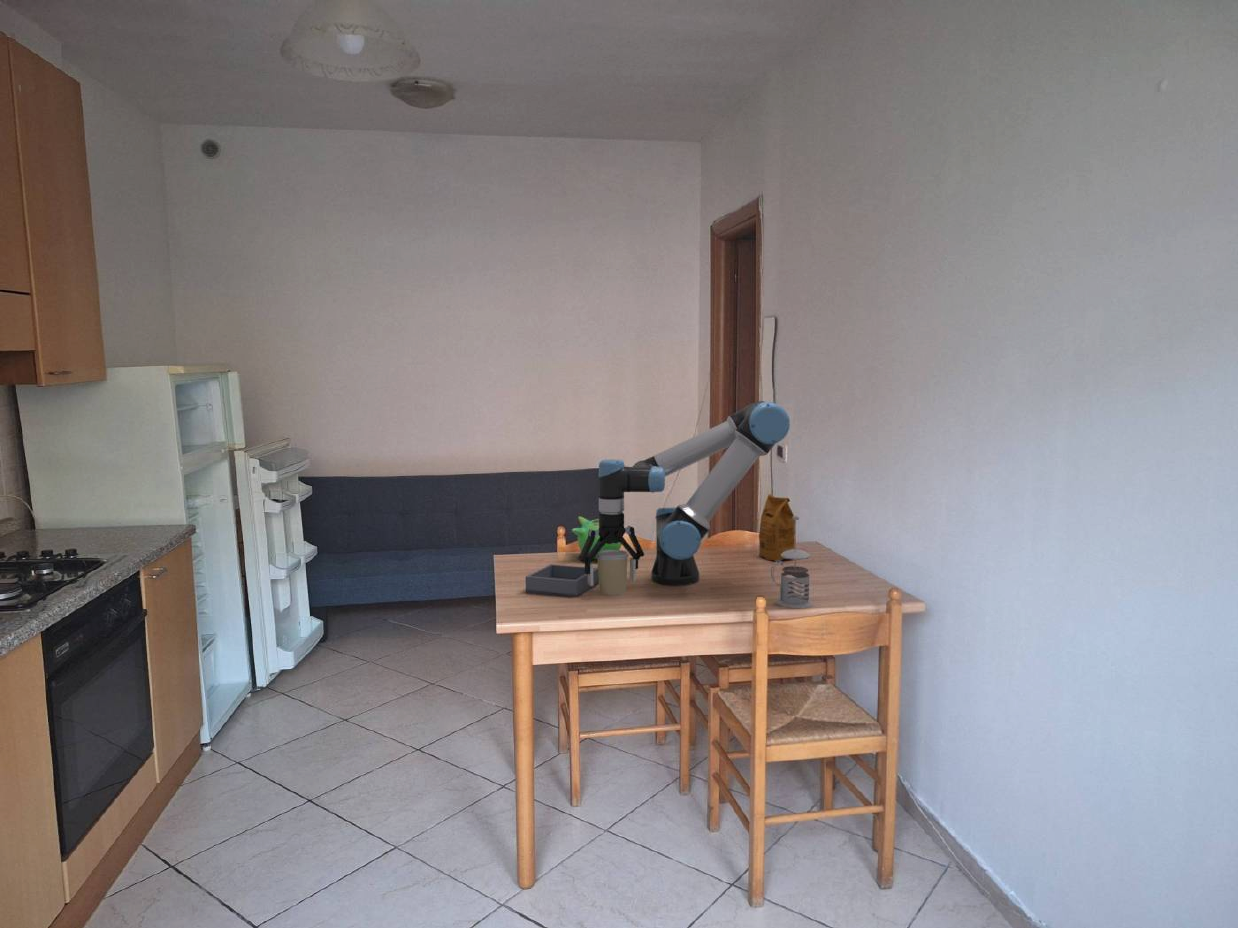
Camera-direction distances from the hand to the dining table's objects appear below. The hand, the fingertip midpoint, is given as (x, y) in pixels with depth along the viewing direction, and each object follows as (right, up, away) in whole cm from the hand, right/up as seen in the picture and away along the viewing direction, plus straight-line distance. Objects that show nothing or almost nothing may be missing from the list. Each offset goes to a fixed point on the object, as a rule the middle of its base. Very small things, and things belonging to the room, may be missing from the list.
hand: (611, 582), depth 241 cm
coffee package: (+57, +2, +42) cm, 71 cm away
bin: (-15, -3, +5) cm, 16 cm away
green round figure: (-5, +2, +45) cm, 46 cm away
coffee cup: (0, -3, 0) cm, 3 cm away
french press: (+51, -4, -14) cm, 53 cm away
